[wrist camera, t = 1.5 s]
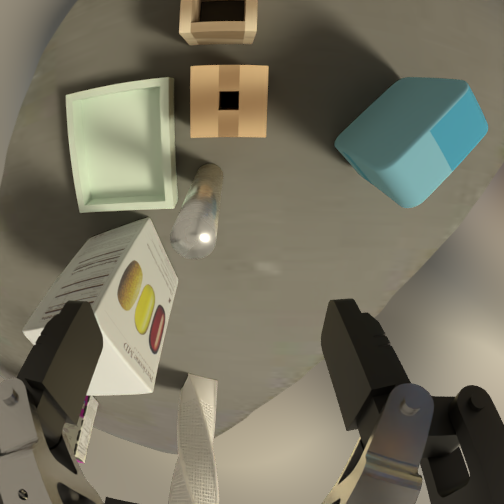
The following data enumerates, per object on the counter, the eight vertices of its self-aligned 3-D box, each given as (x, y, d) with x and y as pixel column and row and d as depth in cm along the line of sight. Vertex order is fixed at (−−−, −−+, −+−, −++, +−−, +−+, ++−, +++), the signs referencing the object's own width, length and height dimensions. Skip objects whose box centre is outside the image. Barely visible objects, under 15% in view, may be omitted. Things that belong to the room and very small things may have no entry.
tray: (77, 94, 23) (65, 95, 21) (174, 78, 24) (168, 77, 22) (89, 204, 30) (79, 212, 28) (178, 199, 30) (173, 208, 28)
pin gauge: (196, 163, 29) (168, 218, 17) (223, 163, 29) (215, 217, 17) (196, 189, 30) (172, 259, 18) (223, 189, 30) (216, 259, 18)
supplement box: (180, 280, 36) (157, 396, 21) (121, 295, 37) (81, 399, 22) (149, 213, 31) (91, 316, 17) (87, 236, 32) (18, 331, 17)
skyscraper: (184, 366, 45) (171, 531, 21) (226, 376, 46) (230, 535, 22) (174, 389, 48) (162, 531, 24) (212, 397, 50) (212, 536, 26)
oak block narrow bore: (199, 72, 24) (190, 66, 19) (261, 72, 24) (268, 65, 19) (199, 129, 27) (190, 137, 22) (259, 129, 27) (265, 137, 22)
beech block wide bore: (192, -5, 19) (183, -26, 14) (253, -6, 20) (258, -28, 14) (190, 45, 22) (179, 33, 17) (252, 44, 23) (256, 31, 17)
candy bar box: (63, 396, 52) (45, 452, 37) (53, 384, 49) (32, 442, 35) (100, 403, 52) (85, 465, 38) (91, 391, 49) (73, 456, 35)
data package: (355, 172, 30) (411, 215, 20) (329, 143, 28) (381, 173, 18) (422, 107, 26) (495, 124, 16) (400, 76, 24) (473, 79, 14)
